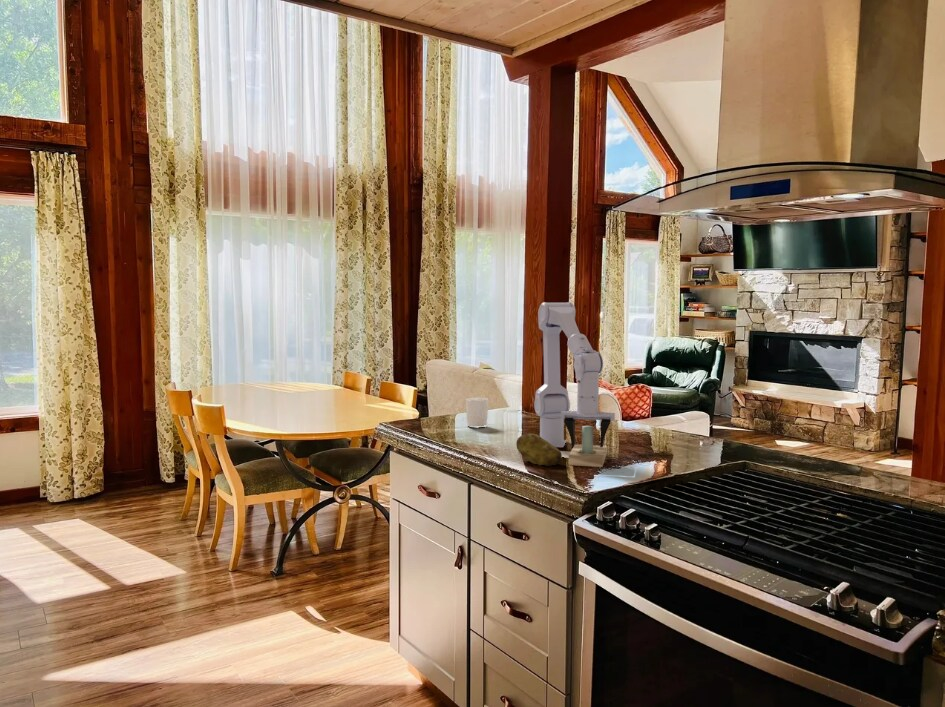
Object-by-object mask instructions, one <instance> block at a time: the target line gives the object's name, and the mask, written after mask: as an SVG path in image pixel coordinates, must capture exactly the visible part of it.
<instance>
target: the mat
mask: <svg viewBox="0 0 945 707" xmlns="http://www.w3.org/2000/svg"><path fill="white" fill-rule="evenodd" d="M559 451H560V452H561V454H562V457H564V458H565V459H569V454H570V452H571V451H566V450H559Z"/></svg>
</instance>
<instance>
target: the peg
mask: <svg viewBox="0 0 945 707" xmlns="http://www.w3.org/2000/svg"><path fill="white" fill-rule="evenodd" d="M581 445H582V453H584V454H593V445H594V426H592V425H582V426H581Z"/></svg>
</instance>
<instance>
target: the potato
mask: <svg viewBox="0 0 945 707" xmlns="http://www.w3.org/2000/svg"><path fill="white" fill-rule="evenodd" d="M516 450H518V452H519V453H520V455H521V456H522V457H523V458H524V459H527V460H528V461H529V462H530V463H531V464H533V465H535V464H538V465H537V466H541V465H545V466H544V467H553V466H552V465H554V466H556V465H558V464H560V463H561V462H562V460H563V458H562V454H561V452H560V451H561V450H560V449H558V447H554V446H553V445H551V444H550V443H549V442H548V441H546V440H544V439H543V438H541V437H540V435H538V434H535V433H532V432H528V433H524V434H522V435H521V436H519V437H518V438H517V440H516Z"/></svg>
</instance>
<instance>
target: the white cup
mask: <svg viewBox="0 0 945 707" xmlns="http://www.w3.org/2000/svg"><path fill="white" fill-rule="evenodd" d="M465 410H466V413H465V414H466V421H467V422H466V423H467V427H468V426H484V425H487V424H488V413H489V398H488V397H479V396H476V397H467V398H465ZM487 426H488V425H487Z"/></svg>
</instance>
